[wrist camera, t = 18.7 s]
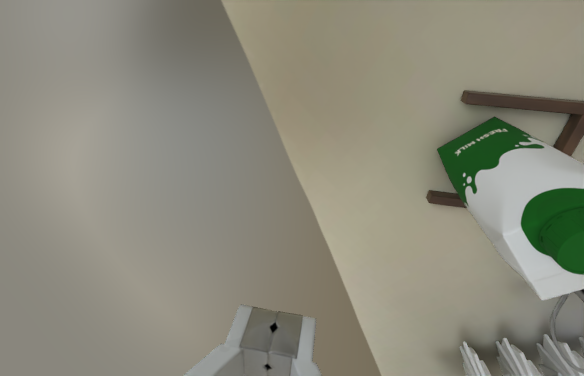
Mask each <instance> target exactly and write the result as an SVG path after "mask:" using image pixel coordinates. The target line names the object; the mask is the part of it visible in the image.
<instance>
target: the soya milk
mask: <svg viewBox="0 0 584 376" xmlns="http://www.w3.org/2000/svg"><path fill="white" fill-rule="evenodd" d="M437 150H438V153H439V155H440V158H441V160H442V162H443V165H444V167H445V169H446V172H447V174H448V176H449V179H450V181H451V182H452V184H453V186H454V188H455V190H456V192H457V193H458V195H459V197H460V198H461V200H462V202H463V203H464V204H465V206H466V207H467V209H468V210H469V212H470V213H471V214H472V216H473V217H474V219H475V220H476V221H477V223H478V224H479V226H480V227H481V228H482V230H483V231H484V233H485V234H486V235H487V237H488V238H489V239H490V241H491V242H492V243H493V244H494V247H495V248H496V250H497V252H498V253H499V255H500V256H501V257H502V258H503V259H504V260H505V261H506V262H507V263H508V264H509V265H510V266H511V267H512V268H513V269H514V270H515V271H516V272H517V273H519V274H520V275H521V276H522V278H523V279H524V280H525V281H526V282H527V284H528V285H529V286H530V287H531V288H532V290H533V291H534V292H535V293H536V294H537V296H538V297H539V298H540V299H541V300H542V301H543V300H547V299H550V298H554V297H557V296H561V295H564V294H568V293H571V292H575V291H578V290H582V289H584V164H583V163H581V162H579V161H578V160H576V159H574V158H572V157H570V156H568V155H566V154H565V153H563V152H561V151H559V150H557V149H555V148H553V147H552V146H550V145H548V144H546V143H544V142H542V141H540V140H538V139H537V138H535V137H533V136H531V135H529V134H527V133H526V132H524V131H522V130H520V129H518V128H516V127H514V126H512V125H510V124H508V123H506V122H504V121H502V120H500V119H498V118H496V117H493V118H492V119H490V120H488V121H486V122H484V123H483V124H481V125H479V126H477V127H476V128H474V129H472V130H470V131H468V132H467V133H465V134H463V135H461V136H460V137H458V138H456V139H454V140H452V141H451V142H449V143H447V144H445V145H444V146H442V147H440V148H438V149H437Z"/></svg>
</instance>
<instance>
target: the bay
mask: <svg viewBox="0 0 584 376" xmlns="http://www.w3.org/2000/svg"><path fill="white" fill-rule="evenodd" d="M461 101H462V102H463V103H465V104H473V105H483V106H494V107H504V108H515V109H526V110H536V111H547V112H557V113H568V114H572V115H571V117H570V119H569V120H568V122H567V124H566V126H565V128H564V129H563V131H562V133H561V135H560V137H559V138H558V140H557V142H556V144H555V145H554V147H553V148H555V149H557V150H559V151H561V152H563V153H565V154H566V155H568V156H570V157H571V155H572V153H573V152H574V150H575V148H576V147H577V145H578V143H579V142H580V140H581V138H582V137H583V135H584V101H575V100H564V99H553V98H542V97H531V96H520V95H509V94H497V93H486V92H475V91H464V93H463V96H462V98H461ZM426 198H427V200H428V202H429V203H433V204H440V205H448V206H455V207H463V208H467V207H466V206H465V204H464V203H463V202H462V200H461V198H460V197H459V195H458V194H453V193H446V192H438V191H430V190H429V192H428V194H427V197H426Z"/></svg>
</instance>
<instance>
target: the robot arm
mask: <svg viewBox="0 0 584 376" xmlns="http://www.w3.org/2000/svg"><path fill="white" fill-rule="evenodd" d="M315 328H316V318H312V317H306V316H302V315H297V314H291V313H285V312H280V311H278V312H277V311H272V310H267V309H262V308H258V307H253V306H248V305H242V304H241V305H240V307H239V308H238V311H237V314H236V316H235V319H234V321H233V324H232V326H231V329H230V332H229V334H228V337H227V339H226V342H225V344H220V345H219V346H217V347H216V348H215V349H214V350H213V351H212V352H211V353H209V354H208V355H207V356H206V357H204V358H203V359H202V360H201V361H200V362H199V363H197V364H196V365H195V366H194V367H193V368H192V369H191V370H189V371H188V372H187V373H186V374H184V375H183V376H322V374H321V372H320V370H319V368H318V366H317V363H314V362H312V361H313V350H314V340H315Z"/></svg>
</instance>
